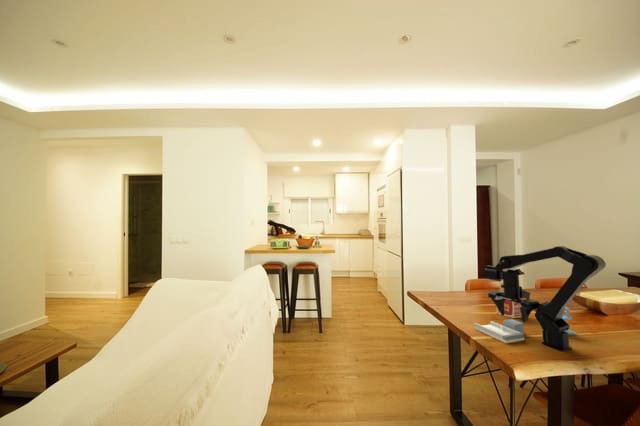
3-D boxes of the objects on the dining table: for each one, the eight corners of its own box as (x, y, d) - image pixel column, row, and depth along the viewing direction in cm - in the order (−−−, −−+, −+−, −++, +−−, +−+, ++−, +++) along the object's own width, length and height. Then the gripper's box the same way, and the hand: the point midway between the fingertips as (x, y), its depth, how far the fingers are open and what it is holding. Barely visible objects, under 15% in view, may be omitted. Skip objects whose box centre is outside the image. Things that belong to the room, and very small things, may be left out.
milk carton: (496, 313, 126) (494, 276, 128) (506, 310, 130) (504, 274, 132) (516, 319, 118) (513, 279, 120) (525, 316, 122) (523, 277, 124)
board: (524, 340, 96) (524, 333, 96) (506, 343, 93) (505, 336, 94) (491, 326, 109) (491, 321, 110) (474, 328, 107) (474, 323, 107)
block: (524, 333, 102) (523, 323, 102) (515, 335, 101) (514, 324, 101) (512, 329, 107) (511, 319, 107) (503, 330, 105) (503, 320, 106)
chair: (541, 328, 107) (539, 302, 108) (555, 327, 108) (553, 301, 109) (561, 336, 99) (558, 307, 100) (576, 334, 101) (574, 306, 101)
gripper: (548, 287, 98) (551, 325, 97) (503, 278, 116) (505, 310, 115) (529, 288, 95) (531, 328, 94) (486, 279, 113) (488, 312, 112)
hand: (513, 318), depth 104 cm, fingers open, 9 cm apart
